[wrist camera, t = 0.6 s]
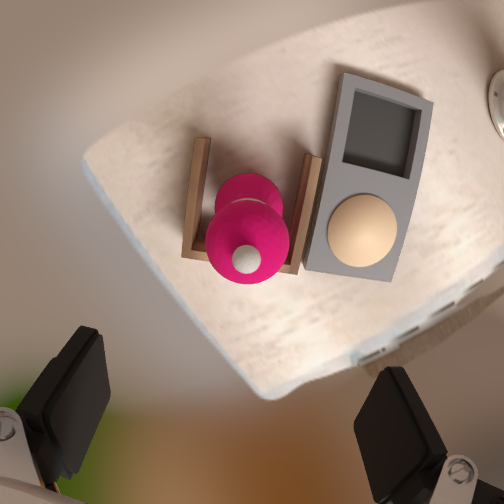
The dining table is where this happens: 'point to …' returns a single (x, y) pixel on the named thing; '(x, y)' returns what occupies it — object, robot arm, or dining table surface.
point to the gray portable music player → (368, 180)
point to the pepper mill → (247, 230)
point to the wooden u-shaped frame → (304, 202)
